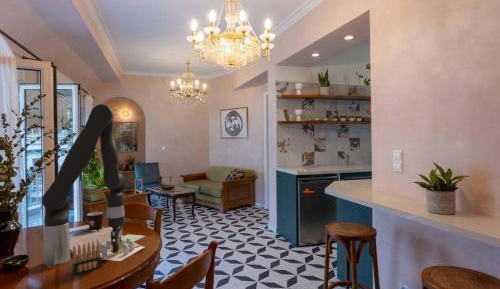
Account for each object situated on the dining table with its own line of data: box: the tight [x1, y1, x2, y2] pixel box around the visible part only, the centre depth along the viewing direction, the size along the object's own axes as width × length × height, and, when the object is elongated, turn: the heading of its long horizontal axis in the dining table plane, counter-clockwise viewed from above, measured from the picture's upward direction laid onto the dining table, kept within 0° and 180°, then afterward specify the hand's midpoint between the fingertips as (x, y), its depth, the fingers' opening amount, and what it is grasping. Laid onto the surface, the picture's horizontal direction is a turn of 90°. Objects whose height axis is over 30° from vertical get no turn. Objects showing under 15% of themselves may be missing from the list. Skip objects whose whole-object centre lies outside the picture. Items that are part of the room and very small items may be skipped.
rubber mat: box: [122, 234, 146, 243], centre depth 166 cm, size 11×11×1 cm
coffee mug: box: [82, 211, 104, 231], centre depth 186 cm, size 12×9×10 cm
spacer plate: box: [99, 238, 145, 262], centre depth 147 cm, size 18×18×5 cm
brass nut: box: [110, 240, 125, 253], centre depth 147 cm, size 6×5×5 cm
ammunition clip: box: [71, 240, 103, 277], centre depth 127 cm, size 11×2×12 cm, turn 132°
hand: (117, 249), depth 147 cm, fingers open, 8 cm apart
